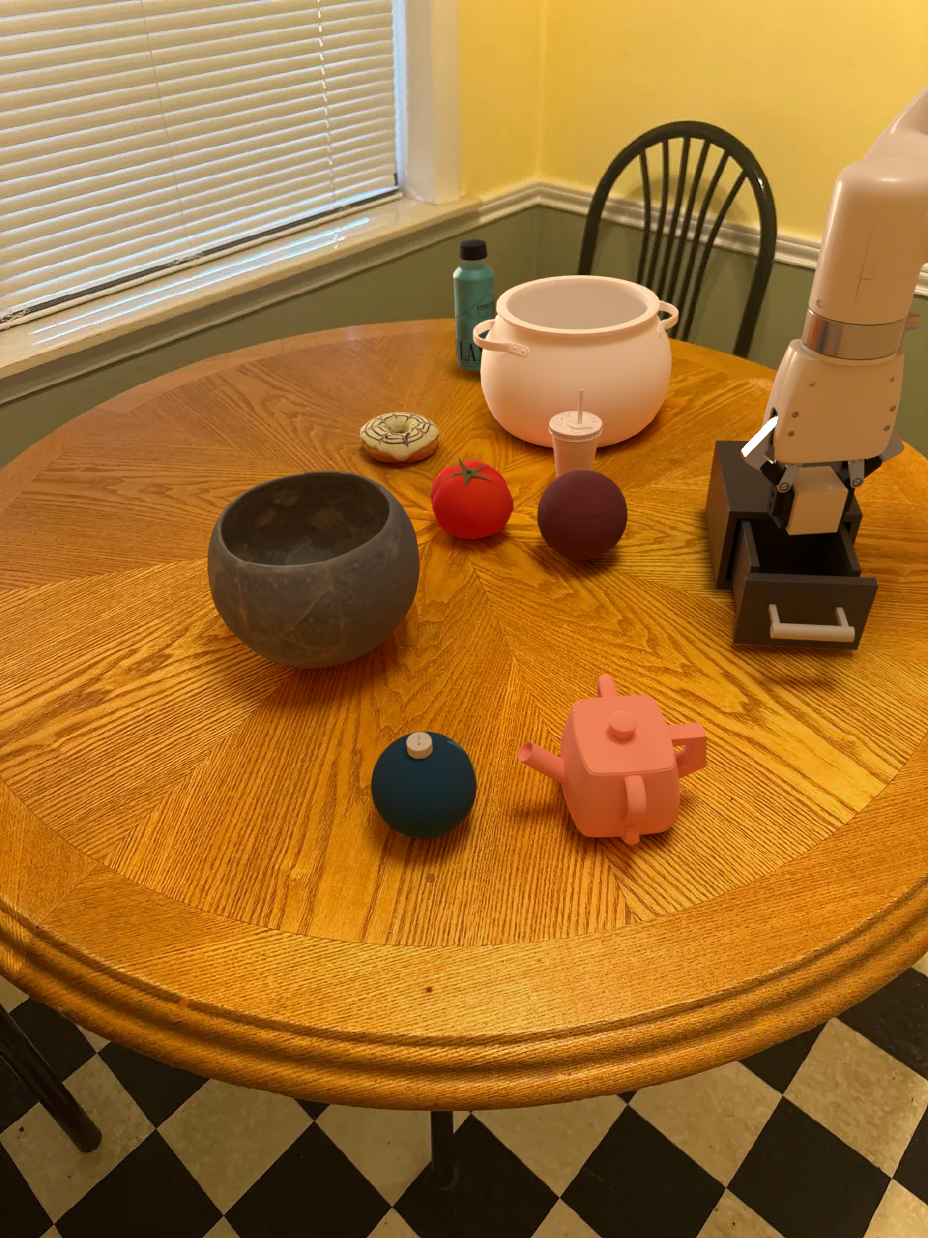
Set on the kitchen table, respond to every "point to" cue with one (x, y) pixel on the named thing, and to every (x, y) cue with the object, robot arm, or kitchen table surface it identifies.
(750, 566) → the drawer
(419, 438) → the decorated donut
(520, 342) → the pot
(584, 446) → the smoothie
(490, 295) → the beverage bottle
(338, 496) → the bowl
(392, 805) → the christmas ornament
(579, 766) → the teapot
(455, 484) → the tomato
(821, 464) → the cabinet
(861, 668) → the kitchen table surface
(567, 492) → the decorative ball
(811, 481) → the block
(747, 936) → the kitchen table surface
